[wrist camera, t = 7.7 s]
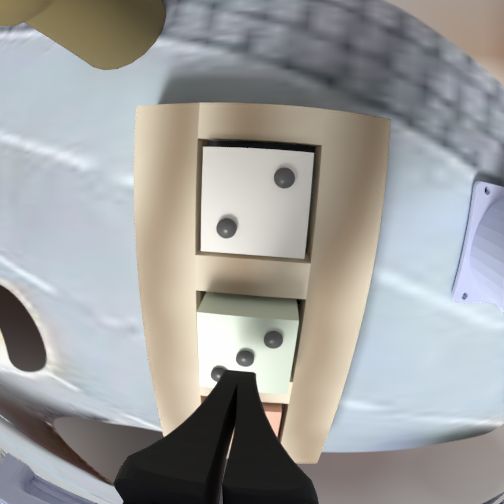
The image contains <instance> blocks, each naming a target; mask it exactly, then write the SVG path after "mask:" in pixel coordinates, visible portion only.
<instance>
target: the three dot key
mask: <svg viewBox="0 0 504 504" xmlns="http://www.w3.org/2000/svg"><path fill="white" fill-rule="evenodd" d="M298 325H299V316H298V307H297V299H294V298H280V297H266V296H254V295H241V294H230V293H219V292H208V291H207V292H206V294H205V296H204V298H203V300H202V302H201V304H200V306H199V308H198V310H197V336H198V358H199V377H200V386H204V387H212V388H214V387H215V385H216V384H217V382H218V381H219V379H220V377H221V375H222V374H223V371H225V370H236V371H247V372H254V373H255V374H256V381H257V388H258V392H260V393H273V394H287V393H288V388H289V382H290V376H291V370H292V364H293V358H294V351H295V345H296V338H297V331H298Z"/></svg>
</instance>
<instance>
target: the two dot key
mask: <svg viewBox="0 0 504 504" xmlns="http://www.w3.org/2000/svg"><path fill="white" fill-rule="evenodd" d="M313 159H314V153H310V152H299V151H287V150H274V149H257V148H236V147H203V165H202V198H201V251H206V252H219V253H233V254H246V255H259V256H273V257H286V258H299V259H304V257H305V248H306V239H307V229H308V219H309V208H310V197H311V185H312V173H313Z"/></svg>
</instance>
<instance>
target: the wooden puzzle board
mask: <svg viewBox="0 0 504 504" xmlns="http://www.w3.org/2000/svg"><path fill="white" fill-rule="evenodd" d="M389 137H390V119H387V118H381V117H376V116H370V115H364V114H358V113H352V112H345V111H338V110H330V109H322V108H313V107H303V106H291V105H277V104H260V103H176V104H158V105H145V106H136V123H135V147H134V211H135V236H136V253H137V267H138V279H139V290H140V300H141V309H142V318H143V325H144V333H145V340H146V347H147V354H148V360H149V366H150V372H151V378H152V383H153V389H154V394H155V399H156V404H157V409H158V413H159V418H160V422H161V427H162V431H163V435H164V437H165V436H166V435H168V434H169V433H170V432H172V431H173V430H174V429H176V428H177V427H178V426H179V425H180V424H182V423H183V422H184V421H185V420H186V419H187V418H188V417H189V416H190V415H191V414H192V413H193V412H194V411H195V410H196V409H197V408H198V407H199V406H200V405H201V403H202V402H203V401H204V400H205V399H206V397H207V396H208V395H209V394H210V392H211V391H212V390H213V388H212V387H204V386H200V377H199V358H198V336H197V310H198V308H199V306H200V304H201V302H202V300H203V298H204V296H205V294H206V291H208V292H219V293H230V294H241V295H254V296H266V297H280V298H294V299H300V304H299V311H298V316H299V325H298V331H297V338H296V345H295V351H294V358H293V364H292V370H291V376H290V382H289V388H288V393H287V394H273V393H260V392H259V396H260V399H261V402H268V403H284V407H283V413H282V418H281V423H280V428H279V431H278V436H277V438H278V439H279V441H280V443H281V444H282V446H283V447H284V449H285V450H286V451H287V453H288V454H289V456H290V457H291V458H292V460H293V461H294V462H295V463H317V462H318V459H319V457H320V454H321V451H322V449H323V446H324V444H325V441H326V438H327V436H328V433H329V430H330V427H331V424H332V422H333V419H334V416H335V413H336V410H337V407H338V404H339V401H340V398H341V395H342V391H343V388H344V385H345V382H346V378H347V375H348V372H349V368H350V365H351V361H352V358H353V354H354V350H355V346H356V343H357V339H358V335H359V331H360V327H361V323H362V319H363V314H364V310H365V306H366V301H367V296H368V292H369V287H370V282H371V277H372V272H373V266H374V261H375V255H376V250H377V244H378V237H379V231H380V224H381V217H382V210H383V202H384V194H385V185H386V175H387V164H388V152H389ZM209 140H214V141H247V142H266V143H281V144H294V145H305V146H315V156H314V169H313V182H312V194H311V205H310V216H309V226H308V236H307V245H306V248H305V257H304V259H299V258H286V257H273V256H259V255H246V254H233V253H219V252H206V251H201V198H202V165H203V147H209ZM229 453H230V449H229V451H228V454H227V459H228V457H229Z"/></svg>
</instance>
